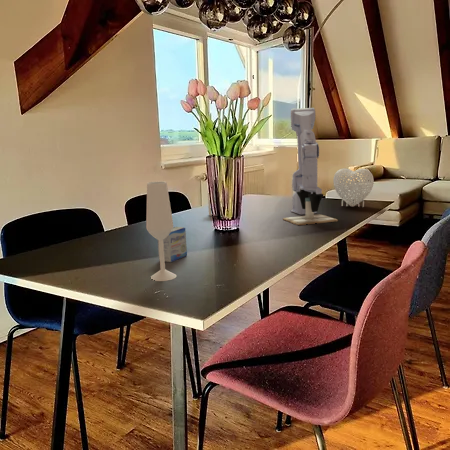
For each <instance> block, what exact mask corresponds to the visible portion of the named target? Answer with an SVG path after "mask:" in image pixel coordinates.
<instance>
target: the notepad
mask: <svg viewBox="0 0 450 450" xmlns="http://www.w3.org/2000/svg"><path fill="white" fill-rule="evenodd" d="M282 220H283V221H286V222H289V223H291V224H294V225H296V226H298V225H299V226H307V225H306V224H308V225H316V224H315V223H317V224H324V223H325V224H326V223H331V222H332V223H333V222H338V221H339V219H337V218H334V217H331V216H327V215H325V214H320V213H319V214H318V213H316V214H314V219H306V215H301V216H299V215H298V216H290V217H283V218H282Z"/></svg>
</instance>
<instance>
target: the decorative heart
mask: <svg viewBox="0 0 450 450" xmlns="http://www.w3.org/2000/svg"><path fill="white" fill-rule="evenodd" d="M333 175H334V176H333V187H334V189H335V192H336V193H337V195H338V196H339V198H341V207H343V206H344V202H345V203H346V205H345V206H346V207H348V206H350V207H355V206H358V207H359V208H360V203H361V202H362V208H364V207H365V199H366V198H367V197H368V196H369V194H370V193H371V191H372V189H373V186H374V182H375V181H374V176H373V173H372V172H371V171H370V170H369V169H367V168H359V169H355V170H354V171H353V170H352V169H349V168H346V167H345V168H340V169H338V170H337V171H336V172H335V173H334V174H333Z"/></svg>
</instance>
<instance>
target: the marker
mask: <svg viewBox="0 0 450 450" xmlns="http://www.w3.org/2000/svg"><path fill="white" fill-rule="evenodd" d="M305 201H306V214H305V216H306V219H314V215H315V213H314V212H312V210H311V202H310V198H305Z"/></svg>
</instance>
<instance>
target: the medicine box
mask: <svg viewBox="0 0 450 450" xmlns="http://www.w3.org/2000/svg"><path fill="white" fill-rule="evenodd" d="M186 232H187V231H186V227H183V226H173V229H172V231H171V233H170V234H169V235H168V236H167V237H166V238H165V239H163V244H164V259H165V262H166V263H172V262H176V261H177V260H180V259H183V258H184V257H186V256H188V250H187V249H188V248H187V233H186ZM157 251H158V261H160V254H159V240H157Z"/></svg>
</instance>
